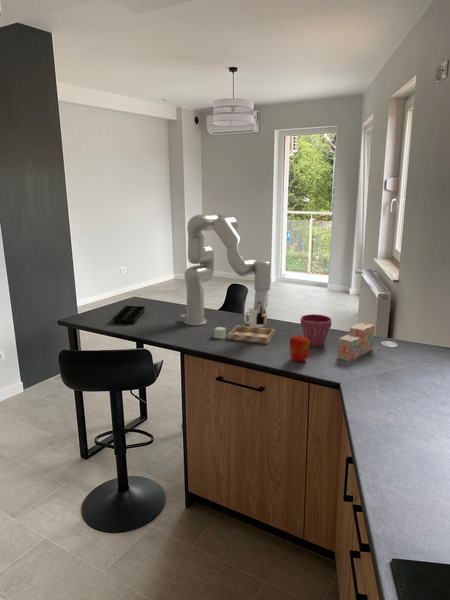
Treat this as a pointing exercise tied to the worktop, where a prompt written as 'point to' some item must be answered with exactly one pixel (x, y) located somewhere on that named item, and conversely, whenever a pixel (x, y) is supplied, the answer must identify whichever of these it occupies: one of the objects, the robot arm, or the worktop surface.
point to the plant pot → (316, 328)
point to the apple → (299, 348)
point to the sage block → (219, 332)
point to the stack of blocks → (356, 342)
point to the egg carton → (128, 315)
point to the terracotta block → (264, 318)
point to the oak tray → (251, 334)
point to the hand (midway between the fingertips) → (261, 322)
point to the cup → (252, 317)
